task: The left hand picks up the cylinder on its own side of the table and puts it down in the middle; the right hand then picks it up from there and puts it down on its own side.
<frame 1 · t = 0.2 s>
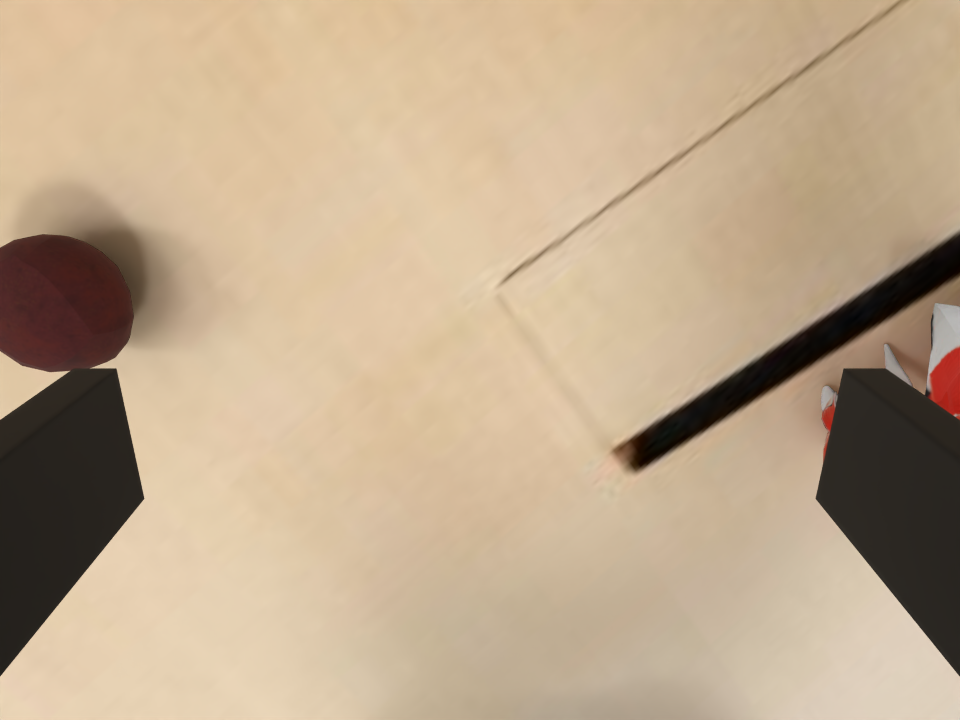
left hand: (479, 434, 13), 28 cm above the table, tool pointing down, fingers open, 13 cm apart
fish: (887, 363, 42), on the table
dark maroon ball: (93, 287, 40), on the table
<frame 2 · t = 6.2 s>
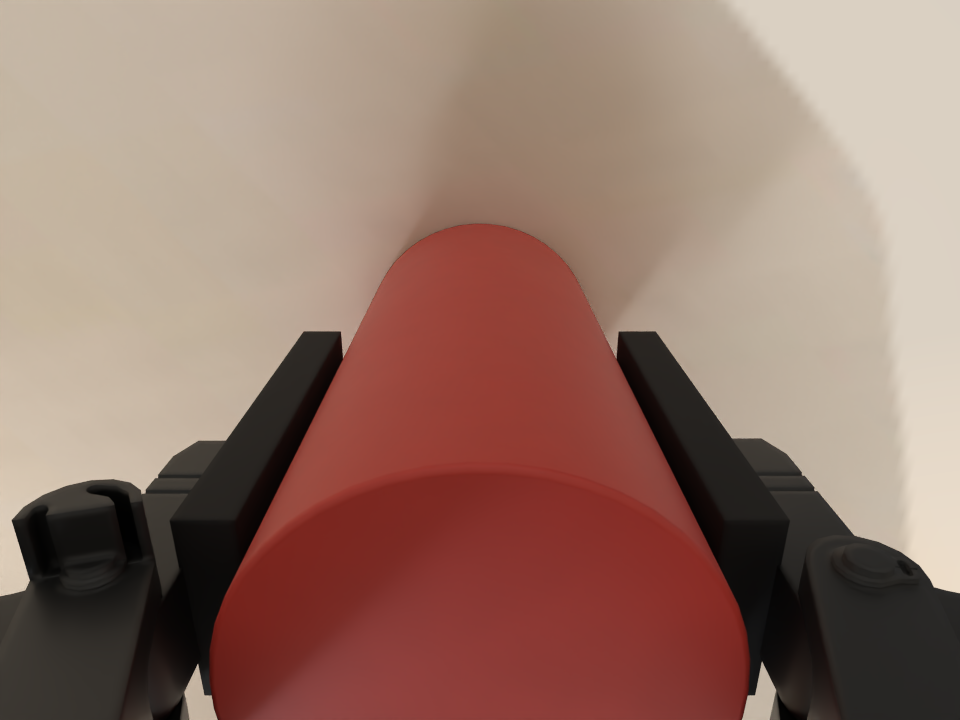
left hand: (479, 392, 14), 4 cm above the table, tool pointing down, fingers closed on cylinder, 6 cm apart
cylinder: (479, 331, 18), on the table, touching left hand
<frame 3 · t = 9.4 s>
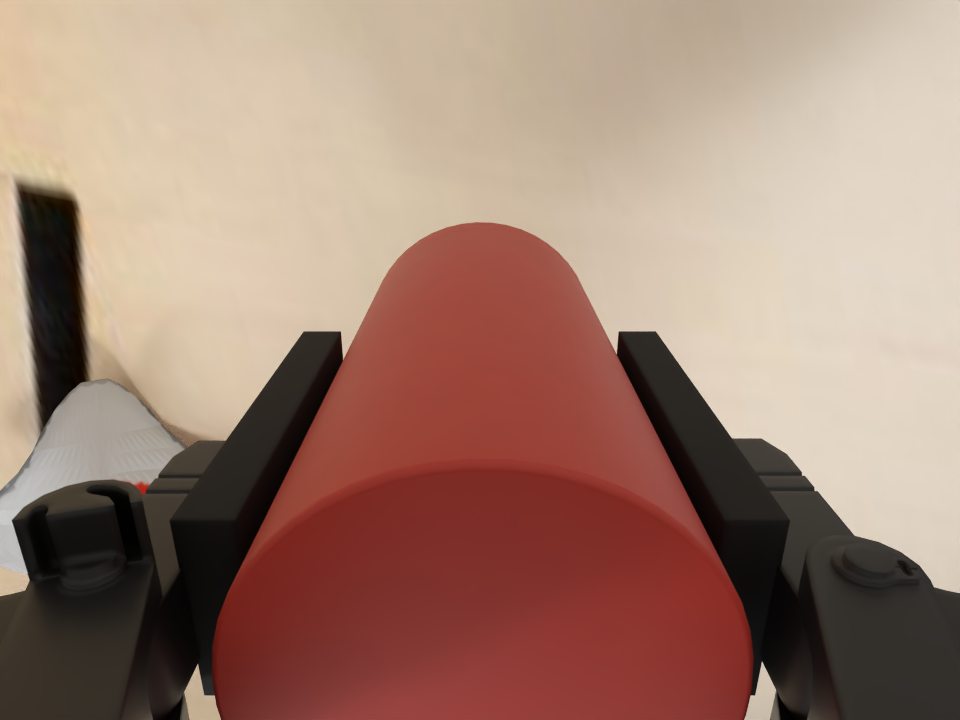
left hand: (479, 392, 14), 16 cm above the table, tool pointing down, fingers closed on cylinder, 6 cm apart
cylinder: (481, 330, 18), point 12 cm above the table, touching left hand
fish: (150, 506, 34), on the table
when the left hand's fingers open (5 cm above the table, at t = 12.9 s): cylinder drops 1 cm, on the table.
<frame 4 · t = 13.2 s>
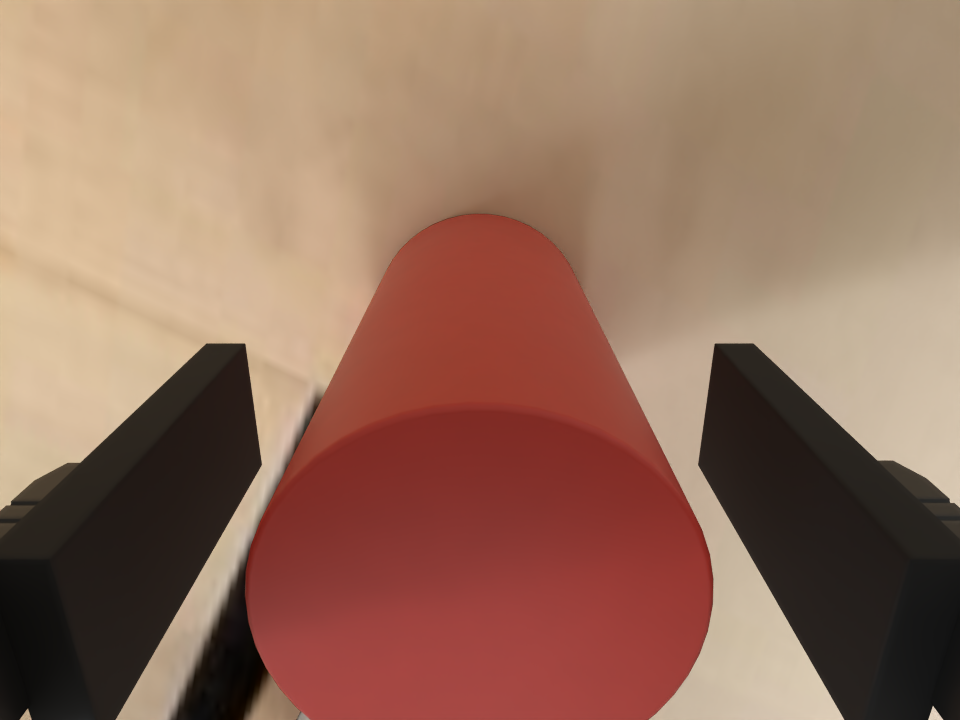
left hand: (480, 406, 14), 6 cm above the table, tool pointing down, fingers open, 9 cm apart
cylinder: (479, 316, 19), on the table
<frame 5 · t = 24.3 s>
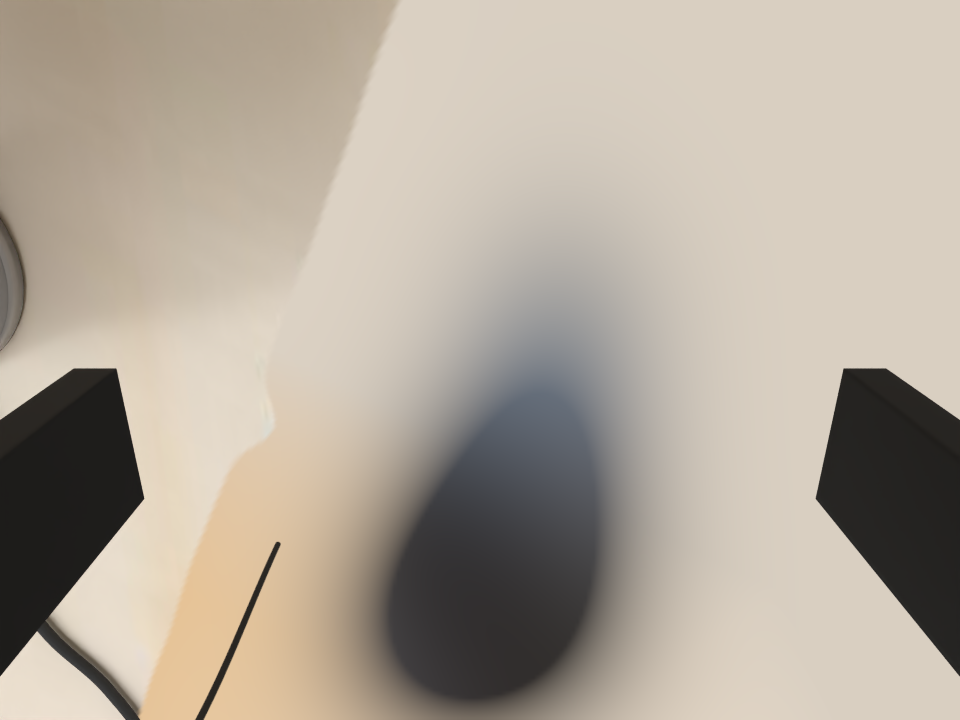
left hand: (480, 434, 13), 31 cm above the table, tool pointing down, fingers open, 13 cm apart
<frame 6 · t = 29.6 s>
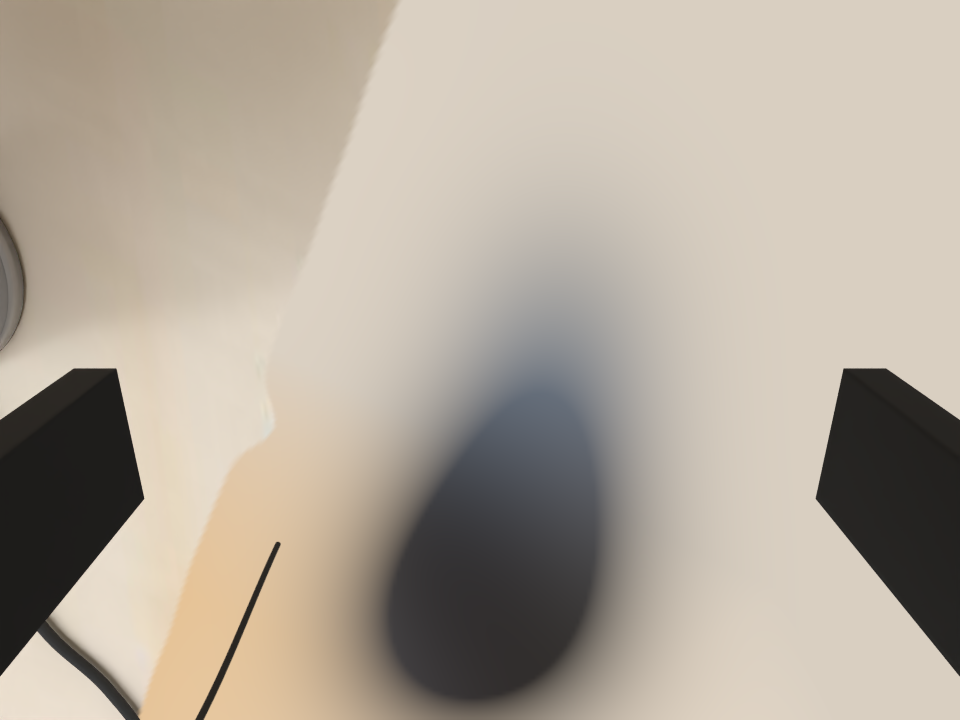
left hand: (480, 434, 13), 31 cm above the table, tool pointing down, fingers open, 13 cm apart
when the right hand's fingers open (5 cm above the table, at t = 35.2 s): cylinder drops 1 cm, on the table.
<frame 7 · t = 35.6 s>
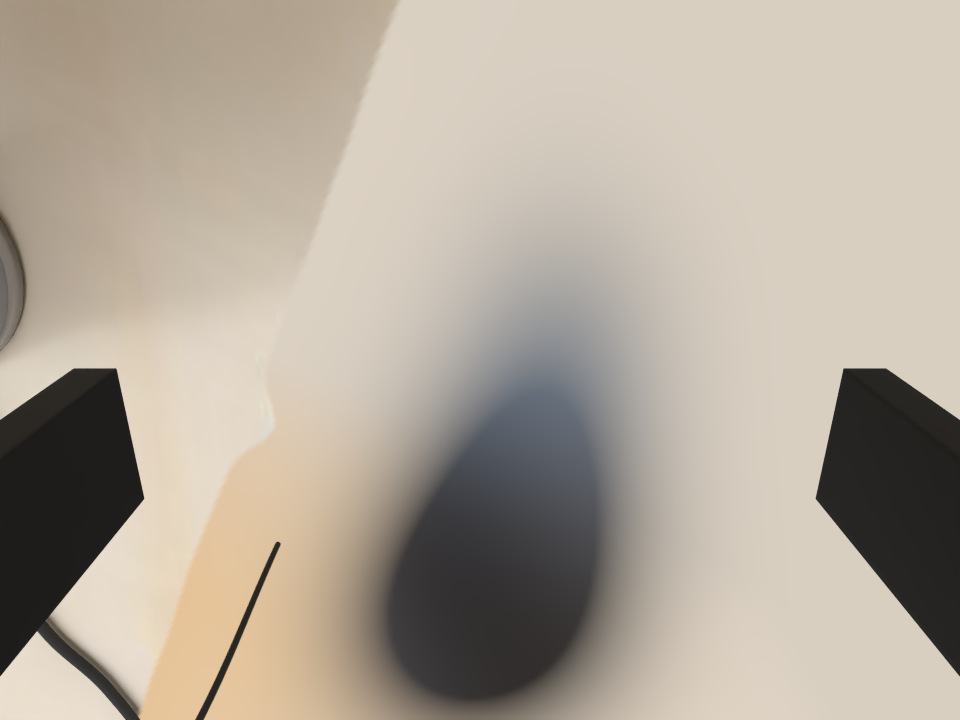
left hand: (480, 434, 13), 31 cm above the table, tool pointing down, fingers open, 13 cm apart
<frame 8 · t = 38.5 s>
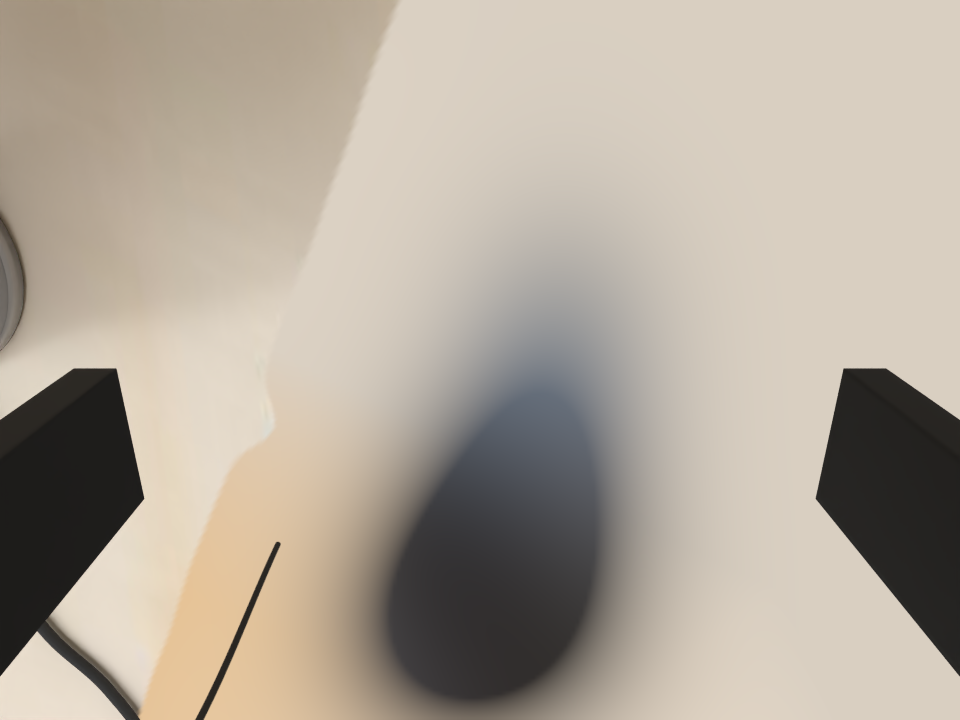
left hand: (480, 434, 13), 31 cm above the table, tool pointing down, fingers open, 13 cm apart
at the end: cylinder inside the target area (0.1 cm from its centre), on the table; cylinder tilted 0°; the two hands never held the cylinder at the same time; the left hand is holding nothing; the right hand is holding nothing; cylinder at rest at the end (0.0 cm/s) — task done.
